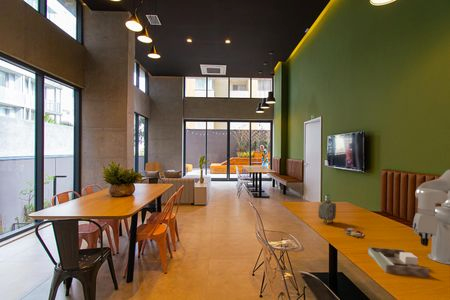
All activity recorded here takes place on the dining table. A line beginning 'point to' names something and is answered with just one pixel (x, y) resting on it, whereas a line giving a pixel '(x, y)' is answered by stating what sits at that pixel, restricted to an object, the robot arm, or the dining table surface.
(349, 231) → the toy food set
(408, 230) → the dining table surface
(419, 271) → the box
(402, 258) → the cream block
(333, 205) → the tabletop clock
